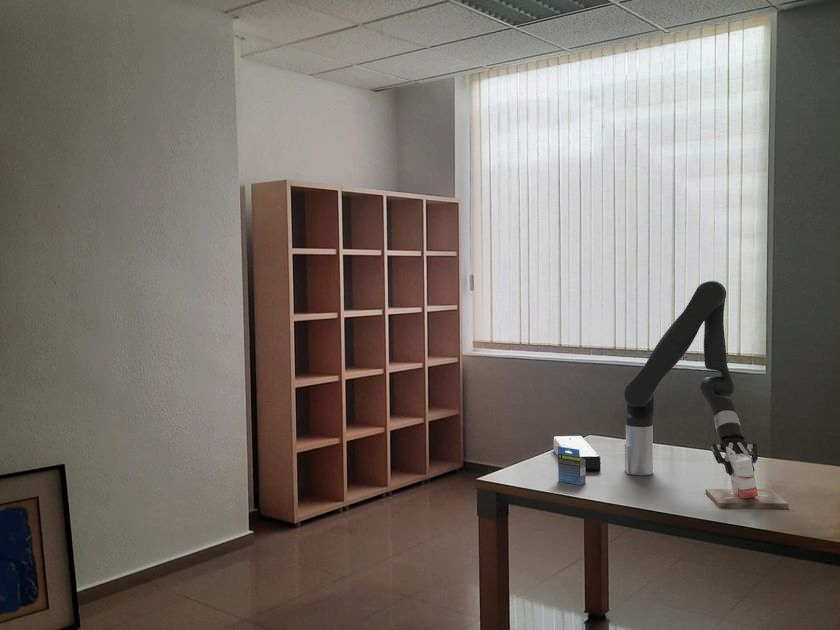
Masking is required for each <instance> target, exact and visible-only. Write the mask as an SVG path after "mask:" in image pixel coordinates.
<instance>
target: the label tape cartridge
mask: <svg viewBox="0 0 840 630" xmlns="http://www.w3.org/2000/svg"><path fill="white" fill-rule="evenodd" d="M568 450H569V451H570V452H572V453H566V452H565V451H568ZM557 463H558V464H557V468H558V469H557V471H558V472H557V475H558V479H557V480H558V482H559V481H561V482H560V483H565V482H566V483H565V484H570V483H571V484H572V485H577V486H583V485H585V484H586V480H587V479H586V472H585V459H583V458H581V457H580V453H579V450H578V449H572V448H565V447H559V446H558V456H557ZM582 484H583V485H582Z"/></svg>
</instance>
